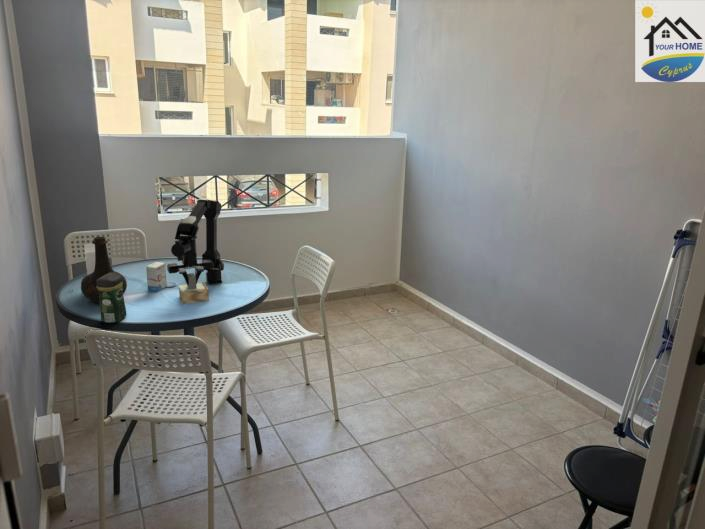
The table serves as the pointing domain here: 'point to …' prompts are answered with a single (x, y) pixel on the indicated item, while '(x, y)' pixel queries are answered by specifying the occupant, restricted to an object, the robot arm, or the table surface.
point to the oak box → (195, 295)
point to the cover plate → (191, 284)
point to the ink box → (156, 276)
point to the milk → (90, 257)
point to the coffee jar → (111, 298)
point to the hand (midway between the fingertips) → (191, 284)
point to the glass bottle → (98, 271)
